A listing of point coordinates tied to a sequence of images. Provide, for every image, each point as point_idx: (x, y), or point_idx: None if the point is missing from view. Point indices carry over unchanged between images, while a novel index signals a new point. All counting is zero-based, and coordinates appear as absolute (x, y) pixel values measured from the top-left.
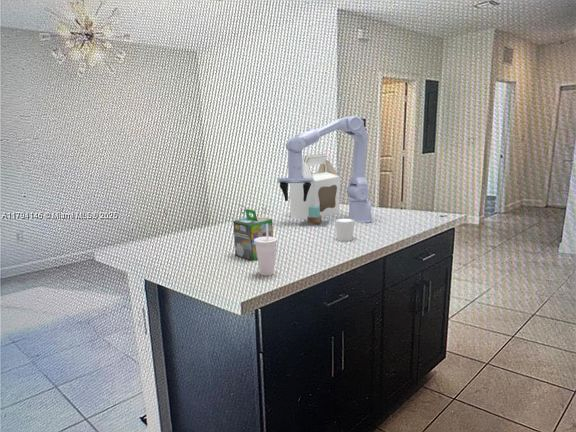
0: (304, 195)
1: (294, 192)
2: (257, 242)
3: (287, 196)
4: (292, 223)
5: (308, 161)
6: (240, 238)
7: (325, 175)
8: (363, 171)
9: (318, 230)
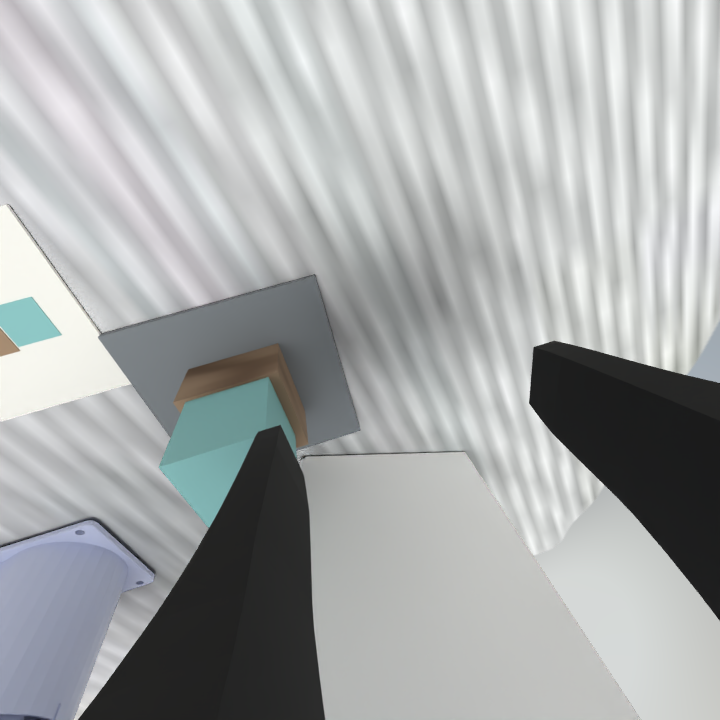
0: (245, 504)
1: (537, 628)
2: None
3: (575, 426)
4: (404, 347)
5: None
6: None
7: None
8: None
9: (79, 220)
